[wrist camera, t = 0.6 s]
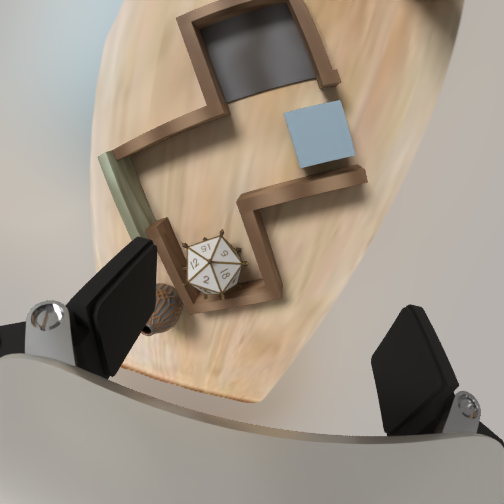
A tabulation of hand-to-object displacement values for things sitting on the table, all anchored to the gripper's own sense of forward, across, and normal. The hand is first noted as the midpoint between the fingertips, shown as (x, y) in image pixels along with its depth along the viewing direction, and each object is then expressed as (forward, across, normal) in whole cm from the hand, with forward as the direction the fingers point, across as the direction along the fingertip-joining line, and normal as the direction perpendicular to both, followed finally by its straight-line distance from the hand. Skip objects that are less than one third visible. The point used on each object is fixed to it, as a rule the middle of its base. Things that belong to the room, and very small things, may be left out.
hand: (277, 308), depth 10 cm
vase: (+26, +14, +23) cm, 37 cm away
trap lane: (+26, +6, -1) cm, 27 cm away
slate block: (+26, -2, -6) cm, 27 cm away
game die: (+26, +6, +13) cm, 30 cm away
